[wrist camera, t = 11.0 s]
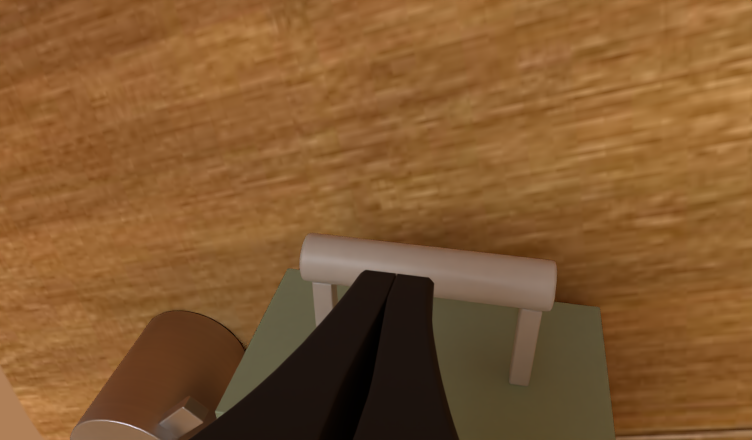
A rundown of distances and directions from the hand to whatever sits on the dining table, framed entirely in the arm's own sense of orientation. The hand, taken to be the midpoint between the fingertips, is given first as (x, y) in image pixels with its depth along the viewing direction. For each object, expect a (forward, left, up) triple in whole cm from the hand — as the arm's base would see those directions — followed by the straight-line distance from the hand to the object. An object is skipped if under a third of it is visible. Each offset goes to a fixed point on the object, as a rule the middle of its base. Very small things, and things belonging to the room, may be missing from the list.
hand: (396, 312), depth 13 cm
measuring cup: (+11, +13, -9) cm, 19 cm away
